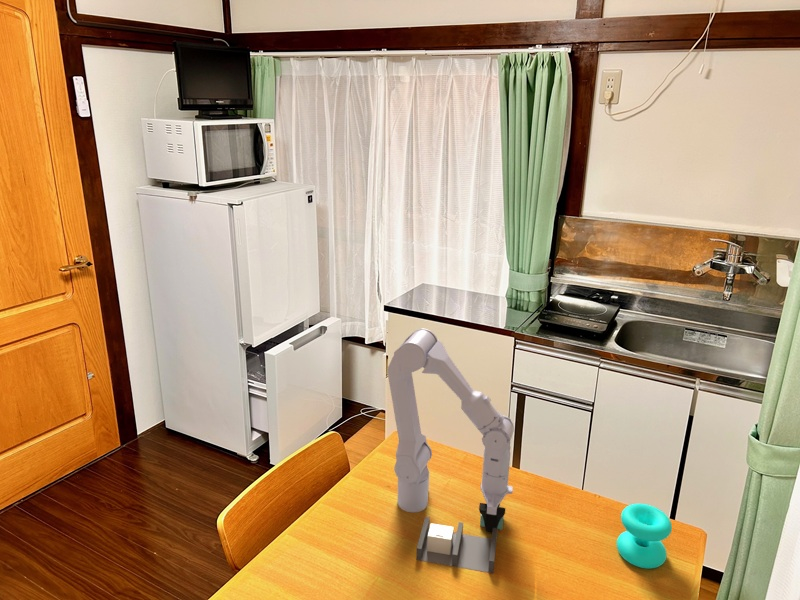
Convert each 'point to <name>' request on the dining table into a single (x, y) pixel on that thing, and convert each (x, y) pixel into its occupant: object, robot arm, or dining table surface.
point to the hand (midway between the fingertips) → (492, 520)
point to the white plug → (440, 539)
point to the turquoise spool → (644, 535)
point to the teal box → (498, 524)
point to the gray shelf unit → (461, 550)
